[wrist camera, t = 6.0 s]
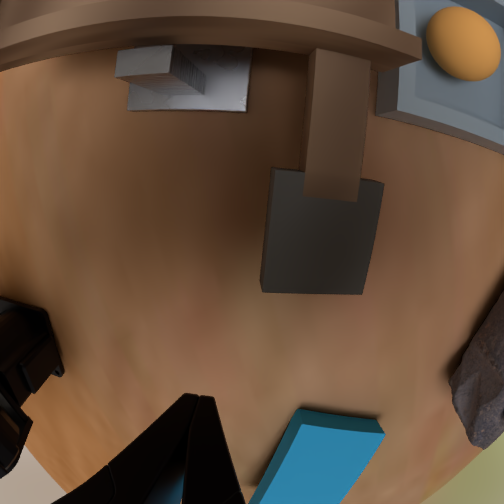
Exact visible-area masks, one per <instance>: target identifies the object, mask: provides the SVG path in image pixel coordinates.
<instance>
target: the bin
mask: <svg viewBox="0 0 504 504" xmlns="http://www.w3.org/2000/svg"><path fill="white" fill-rule="evenodd" d="M452 6H457V7H463V8H467V9H470V10H472V11H474V12H476V13H477V14H479V15H480V16H482V17H483V18H484V19H485V20H486V21H487V22H488V23H489V24H490V25H491V27H492V28H493V29H494V31H495V33H496V35H497V37H498V39H499V43H500V48H501V59H500V63H499V65H498V68H497V69H496V71H495V72H494V73H493V74H492V75H491V76H490V77H488V78H486V79H484V80H481V81H464V80H461V79H458V78H456V77H454V76H452V75H450V74H449V73H447V72H446V71H445V70H443V69H442V68H441V67H440V66H439V65H438V63H437V62H436V61H435V60H434V58H433V57H432V55H431V53H430V51H429V48H428V45H427V40H426V29H427V25H428V23H429V20H430V19H431V17H432V16H433V15H434V14H435V13H436V12H437V11H439V10H441V9H443V8H446V7H452ZM395 28H396V29H399V30H401V31H404V32H407V33H409V34H412V35H414V36H417V37H419V38H421V39H422V60H419V61H416V62H413V63H410V64H407V65H404V66H401V67H398V68H395V69H392V70H389V71H386V72H383V73H382V72H379V71H378V88H377V103H376V116H380V117H385V118H389V119H393V120H397V121H401V122H405V123H409V124H413V125H417V126H421V127H424V128H428V129H431V130H435V131H438V132H441V133H444V134H448V135H451V136H454V137H457V138H460V139H463V140H466V141H469V142H472V143H475V144H477V145H480V146H483V147H485V148H488V149H491V150H493V151H496V152H498V153H501V154H503V155H504V0H395Z"/></svg>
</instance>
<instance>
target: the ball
mask: <svg viewBox="0 0 504 504" xmlns="http://www.w3.org/2000/svg"><path fill="white" fill-rule="evenodd" d="M426 40H427V45H428V48H429V51H430V53H431V55H432V57H433V58H434V60H435V61H436V62H437V63H438V65H439V66H440V67H441V68H442V69H443V70H445V71H446V72H447V73H449V74H450V75H452V76H454V77H456V78H458V79H461V80H464V81H481V80H484V79H486V78H488V77H490V76H491V75H492V74H493V73H494V72H495V71H496V69H497V68H498V65H499V63H500V59H501V48H500V43H499V39H498V37H497V35H496V33H495V31H494V29H493V28H492V27H491V25H490V24H489V23H488V22H487V21H486V20H485V19H484V18H483V17H482V16H480V15H479V14H477V13H476V12H474V11H472V10H470V9H467V8H463V7H457V6H452V7H446V8H443V9H441V10H439V11H437V12H436V13H435V14H434V15H433V16H432V17H431V19H430V20H429V23H428V25H427V29H426Z"/></svg>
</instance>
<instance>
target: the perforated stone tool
mask: <svg viewBox="0 0 504 504" xmlns="http://www.w3.org/2000/svg"><path fill="white" fill-rule="evenodd" d="M448 383H449V385H450V386H451V389H452V404H453V405H454V408H455V411H456V413H457V414H458V415H459V418H460V420H461V422H462V423H463V425H464V427H465V429H466V434H467V436H468V439H469V441H470V442H471V444H472V445H473V446H477V447H481V448H482V449H483V450H484V449H486V448H487V447H488V446H490V445H491V444H492V443H493V442H494V441H495V440H496V439H497V438H498V437H499V436H500V435H501V434H502V433H503V432H504V290H503V292H502V294H501V295H500V298H499V299H498V302H496V304H495V305H494V306H493V308H492V309H491V311H490V313H489V314H488V316H487V318H486V319H485V321H484V322H483V324H482V325H481V327H480V328H479V330H478V331H477V333H476V334H475V336H474V337H473V339H472V341H471V342H470V344H469V347H468V349H467V350H466V351H465V353H464V355H463V356H462V362H461V364H460V366H459V367H458V368H457V370H456V371H455V373H454V375H452V376H451V377H450V379H449V382H448Z"/></svg>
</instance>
